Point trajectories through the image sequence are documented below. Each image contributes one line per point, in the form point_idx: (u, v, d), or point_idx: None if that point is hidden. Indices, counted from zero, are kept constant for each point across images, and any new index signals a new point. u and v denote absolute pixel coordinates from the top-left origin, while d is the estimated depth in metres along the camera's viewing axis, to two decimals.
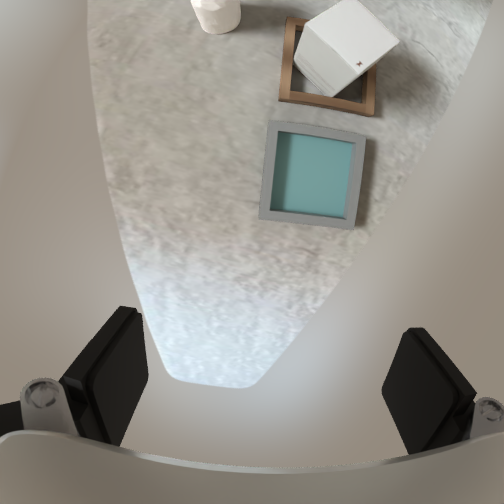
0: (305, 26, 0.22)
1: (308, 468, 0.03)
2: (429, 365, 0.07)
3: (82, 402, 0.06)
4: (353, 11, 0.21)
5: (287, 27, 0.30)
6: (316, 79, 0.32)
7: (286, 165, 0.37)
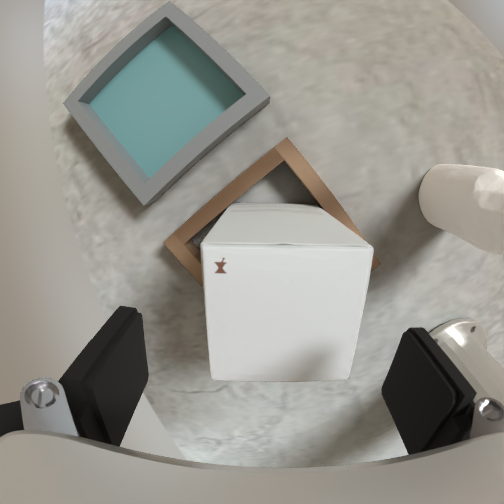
0: (367, 244, 0.12)
1: (308, 468, 0.03)
2: (429, 365, 0.07)
3: (82, 402, 0.06)
4: (321, 355, 0.13)
5: None
6: (269, 206, 0.21)
7: (197, 77, 0.21)
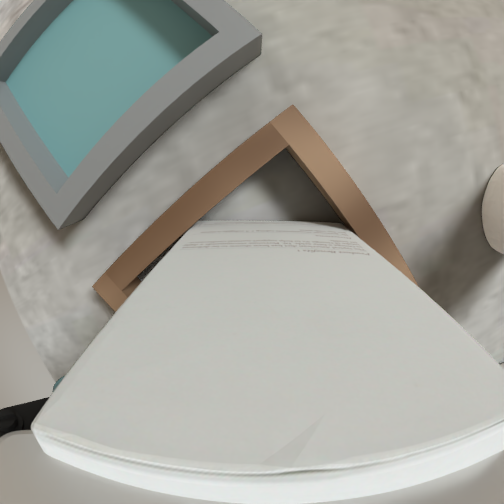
0: None
1: None
2: None
3: None
4: None
5: None
6: (260, 231, 0.12)
7: (146, 21, 0.11)
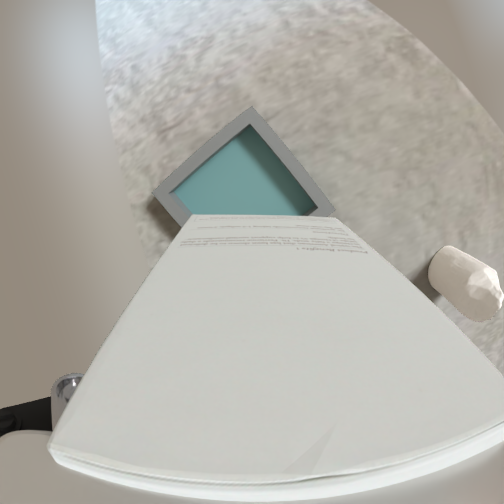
0: None
1: None
2: None
3: None
4: None
5: None
6: (257, 226, 0.12)
7: (275, 181, 0.29)
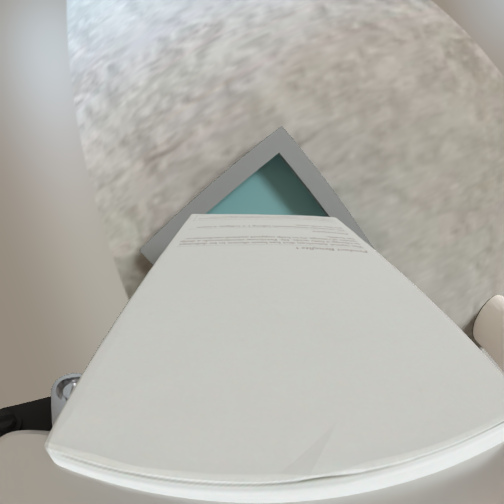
0: None
1: None
2: None
3: None
4: None
5: None
6: (256, 226, 0.12)
7: None
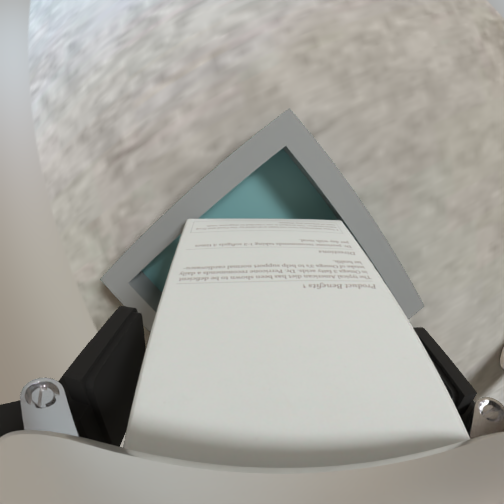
0: None
1: (308, 468, 0.03)
2: None
3: (82, 402, 0.06)
4: None
5: None
6: (259, 244, 0.11)
7: None
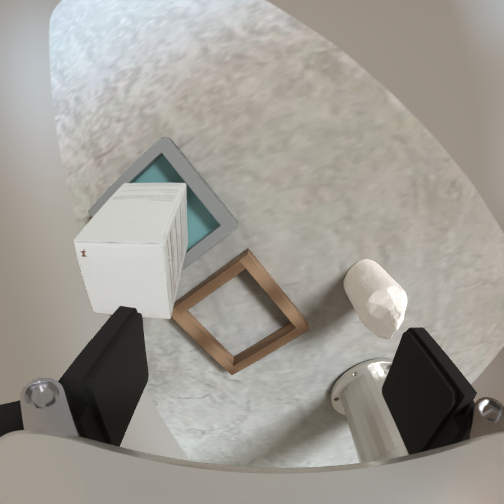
0: (161, 241, 0.20)
1: (308, 468, 0.03)
2: (429, 365, 0.07)
3: (82, 402, 0.06)
4: (147, 302, 0.22)
5: (300, 320, 0.36)
6: (143, 190, 0.27)
7: (187, 201, 0.32)
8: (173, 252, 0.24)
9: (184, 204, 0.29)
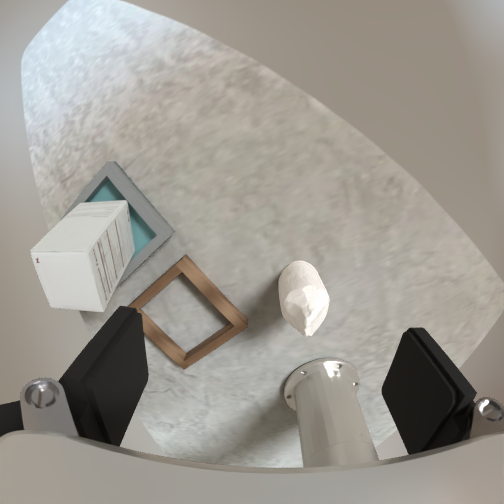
0: (86, 249, 0.24)
1: (308, 468, 0.03)
2: (429, 365, 0.07)
3: (82, 402, 0.06)
4: (85, 298, 0.26)
5: (237, 318, 0.39)
6: (90, 208, 0.32)
7: (132, 215, 0.36)
8: (105, 258, 0.27)
9: (123, 218, 0.33)
